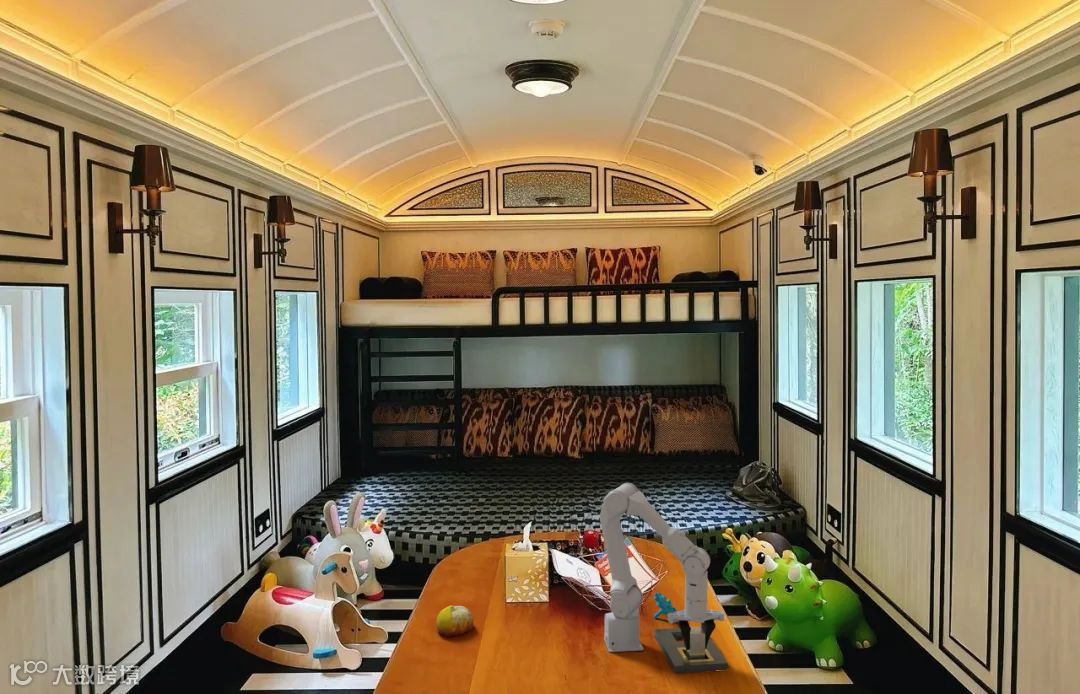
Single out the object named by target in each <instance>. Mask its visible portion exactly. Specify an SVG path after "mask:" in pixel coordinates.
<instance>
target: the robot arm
mask: <svg viewBox="0 0 1080 694" xmlns="http://www.w3.org/2000/svg"><path fill="white" fill-rule="evenodd" d="M624 515H626V516H636V517H637V516H639V518H641V519H642V520H643V521H644V522H645V523H646V524H648V526H650V527H651V528H652V529H653V530H654V531H655V532H656V533H657V534H658V535H659V536H661V539H662V540H661V542H662V545H663V546H664V547H665V548H666V549H667V550H668V551H669V552H670V553H671V554H672V555H673V556H674V557H675V558H676V559H677V560H678V561H679V562H680V563H681V567H682V570H683V571H682V572H684V574H685V577H684V579H685V580H684V609H683V610H680V611H679V610H678V611H676V612H674V613H668V615H667V616H668V618H667V621H668V623H669V624H675V623H677V624H678V628H680V630H681V632H682V636H683V642H684V645H685V648H686V650H689V648H690V631H691V628H690V627H691V626H690V622H695V623H698V624H700V627H701V628H702V630H703V631H704V632H705V649H707V644H708V641H709V638H711V636H712V634H713V632H714V630H715V629H716V622H715V621H720V622H724V621H725V613H724V612H723V611H722V610H713V609H708V584H709V583H708V569H709V567H710V564H711V557H710V555H709V553H708V552H707V550H706V549H703V548H701V547H699V546H697V545H695V544H694V543H693V541H691V540H690V539H689V538H688V537H687V536H686V532H685V531H684V530H683V529H682V530H680V529H679V528H676V527H671V525H670V524H668V522H667V521H666V520H665V519H664V518H663V517H662V516H661V515H660V514H659V512H658V511H657V510H656V509H655V508H654V506H653V505H652V504H650V502H649V501H648V500H647V498H646V497H645V494H644V493H643V492H642V491H640V490H639V489H638V488H637V486H636V485H635V484H633V483H631V482H625V483H622V484H621V485H620V486H618V487H617V488H615V489H613V490H610V491H609V492H608V493H607V494H606V495H605V496H604V497H603V499H602V506H601V510H600V513H599V523H600V527H601V532H602V536H603V540H604V541H603V542H604V547H605V551H606V555H607V561H608V564H609V565H608V566H609V569H610V570H609V571H610V574H611V579H612V582H611V586H610V590H609V594H610V600H609V609H610V611H611V612H608V613H604V637H603V640H604V642H605V645H606V647H607V650H608V652H609V653H617V652H619V653H621V652H635V651H637V652H638V651H639V652H640V651H644V647H643V644H642V643H641V640H640V615H641V614H640V607H639V605H641V604H642V602H643V598H644V595H643V594H644V593H643V592H642V590H641V588H640V587H639V585H638V583H637V578H635V577H634V576H633V575H632V572H631V567H630V562H629V557H628V553H627V549H626V548H627V547H626V542H625V539H624V534H623V529H622V524H621V519H622V517H623V516H624ZM674 622H675V623H674Z"/></svg>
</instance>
